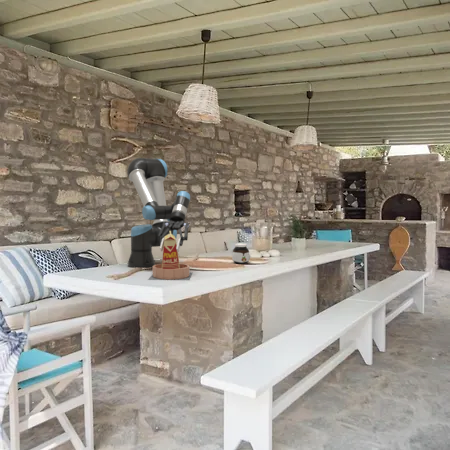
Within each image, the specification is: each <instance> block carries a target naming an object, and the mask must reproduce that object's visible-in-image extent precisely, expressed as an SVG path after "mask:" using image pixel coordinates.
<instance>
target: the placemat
mask: <svg viewBox="0 0 450 450" xmlns="http://www.w3.org/2000/svg"><path fill="white" fill-rule="evenodd" d="M192 275H193V272H190V274H189V277H187V278H184V279H175V280H174V281H191V278H192ZM147 281H167V280H166V279H157V278H154V277H153V273H152V275H151V276H150V277H149V278H148V279H147Z"/></svg>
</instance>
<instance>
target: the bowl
mask: <svg viewBox="0 0 450 450" xmlns="http://www.w3.org/2000/svg"><path fill="white" fill-rule="evenodd" d="M179 264H180V269H162V263H158V264H155V265H154V266H153V267H152V274H153V277H154V278H157V279H166V280H165V281H176V280H175V279H184V278H187V277H189V274H190V273H191V270H190V265H189V264H186V263H179Z"/></svg>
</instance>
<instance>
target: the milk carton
mask: <svg viewBox="0 0 450 450" xmlns="http://www.w3.org/2000/svg"><path fill="white" fill-rule="evenodd" d="M177 244H178V242H177V238H175V236H174V235H172V234H171V231H170V234H168V235H166V236H164V248H163V251H162V261H161V264H162V269H180V264H181V263H180V255H179V252H177V249H176V248H177Z"/></svg>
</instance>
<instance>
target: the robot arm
mask: <svg viewBox="0 0 450 450" xmlns="http://www.w3.org/2000/svg"><path fill="white" fill-rule="evenodd" d="M126 171H127V177H128V179H129V181H130V182H132V184H133V186H134V188H135V190H136V193H137V195H138V196H139V199H140V202H141V203H142V206H143V207H142V210H141V211H142V212H141V214H142V218H143V219H145V220H149V221H153V222H152V224H148V223H147V224H146V223H145V224H138V225H134V226H132V227H131V229H130V255H129V257H128V260H127V266H128V267H129V268H143V269H144V268H153V267H152V266H154V265H156V261H155V258H154V255H153V247H154V248H155V247H156V248H157V247H159V250H160V252H163V248H164V236H166V235H168V234H170V231H171V234H172V235H174V236H175V238H176V239H177V237H178V233H179V237H180V238H178V239H177V248H176V249H177V252H178V253H179V252H180V249H181V247H182V246H183V243H184V241H188V240H189V239H188V238H189V237H188V236H189V228H190V224H189V222H186V223H185V221H186V216H187V214H188V210H189V206H190V202H191V195H190V193H189V192H188V191H185V190H181V191H178V192H177V195H176V196H175V197H176V198H175V199H174V201H173V202H172V204H171V205H167V200H166V193H165V188H164V182H165V180H166V178H167V176H168V165H167V163H166V162H165V161H164V160H163V159H161V158H155V157H154V158H149V157H148V158H146V157H145V158H144V157H136V158H135V159H132V160H131V162H130V163H128V166H127V170H126ZM183 227H184V235H183V232H182V228H183Z"/></svg>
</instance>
